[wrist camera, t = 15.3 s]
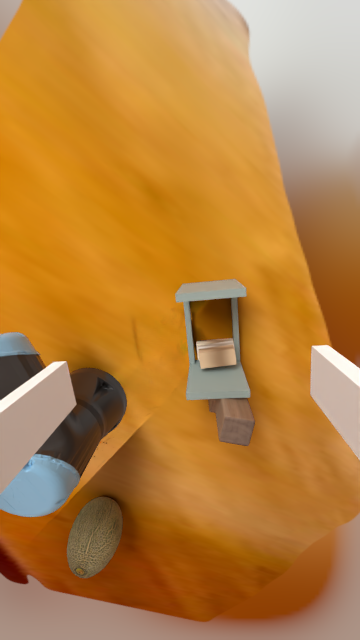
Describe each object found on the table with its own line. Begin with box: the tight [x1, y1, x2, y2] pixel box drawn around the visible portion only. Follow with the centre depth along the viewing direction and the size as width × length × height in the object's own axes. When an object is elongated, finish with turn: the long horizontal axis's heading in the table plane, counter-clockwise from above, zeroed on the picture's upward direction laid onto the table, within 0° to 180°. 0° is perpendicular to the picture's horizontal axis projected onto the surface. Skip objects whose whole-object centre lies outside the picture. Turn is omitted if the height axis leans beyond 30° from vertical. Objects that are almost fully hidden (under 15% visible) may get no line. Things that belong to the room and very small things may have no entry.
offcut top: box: [198, 345, 236, 369], centre depth 46 cm, size 6×3×2 cm, turn 100°
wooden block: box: [208, 398, 255, 446], centre depth 45 cm, size 9×4×18 cm, turn 172°
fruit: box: [67, 497, 123, 578], centre depth 58 cm, size 11×11×15 cm
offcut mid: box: [197, 340, 236, 361], centre depth 48 cm, size 7×3×2 cm, turn 102°
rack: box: [175, 279, 250, 400], centre depth 44 cm, size 10×17×13 cm, turn 6°
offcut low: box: [196, 338, 234, 360], centre depth 51 cm, size 7×3×2 cm, turn 96°
